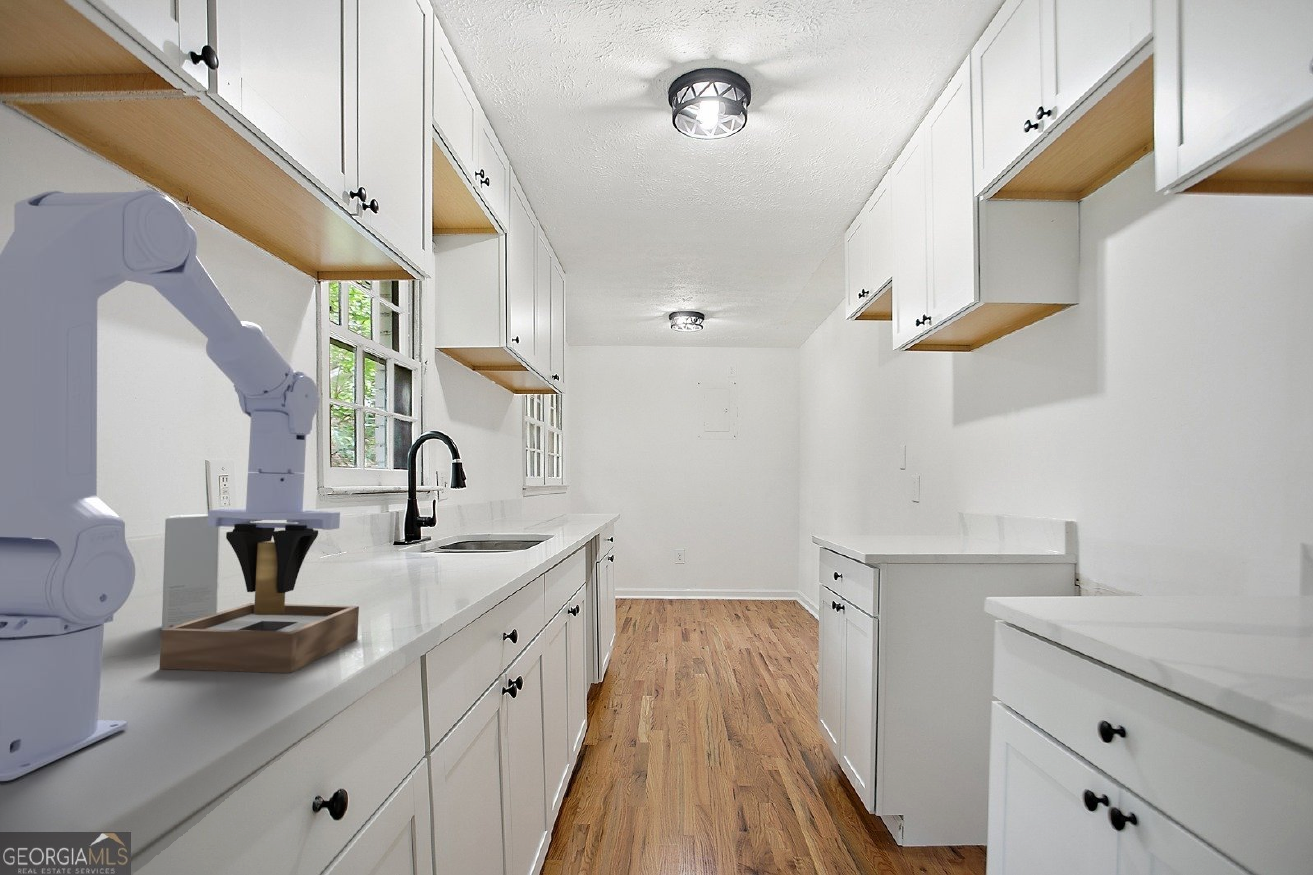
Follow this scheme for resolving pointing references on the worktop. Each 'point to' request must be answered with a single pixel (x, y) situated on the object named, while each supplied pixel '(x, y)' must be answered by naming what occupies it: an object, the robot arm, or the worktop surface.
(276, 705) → the worktop surface
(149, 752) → the worktop surface
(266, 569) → the peg
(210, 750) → the worktop surface
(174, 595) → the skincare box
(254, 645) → the tray
